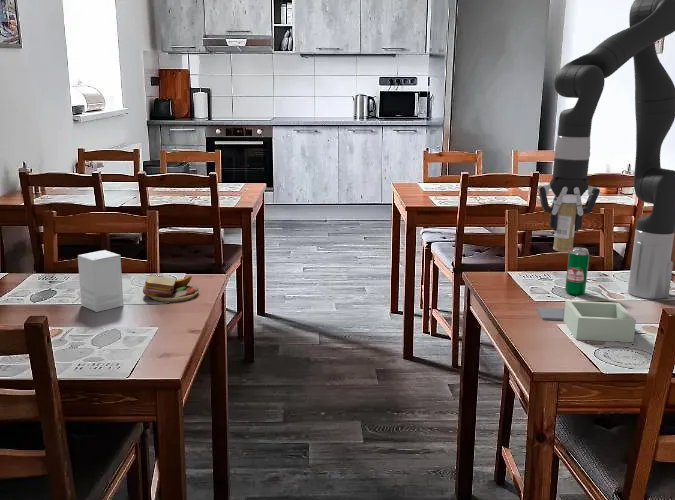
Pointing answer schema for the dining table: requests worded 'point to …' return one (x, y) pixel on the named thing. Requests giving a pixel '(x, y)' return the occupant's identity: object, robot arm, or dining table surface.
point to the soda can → (577, 271)
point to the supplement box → (100, 280)
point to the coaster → (551, 313)
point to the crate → (599, 321)
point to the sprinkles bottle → (565, 224)
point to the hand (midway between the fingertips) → (564, 230)
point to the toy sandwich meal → (169, 289)
